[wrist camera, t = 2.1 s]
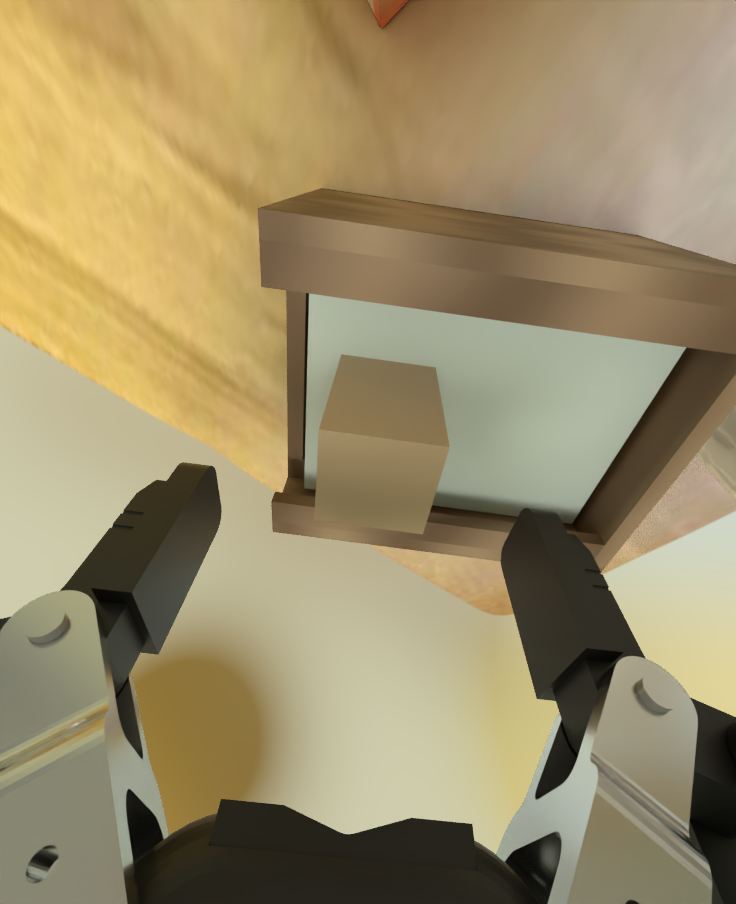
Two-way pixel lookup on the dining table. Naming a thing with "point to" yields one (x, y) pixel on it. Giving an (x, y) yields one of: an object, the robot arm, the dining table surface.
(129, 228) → the dining table surface
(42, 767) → the robot arm
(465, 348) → the lid
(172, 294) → the dining table surface
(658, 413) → the walnut box
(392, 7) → the cracker box
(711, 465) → the white cup
